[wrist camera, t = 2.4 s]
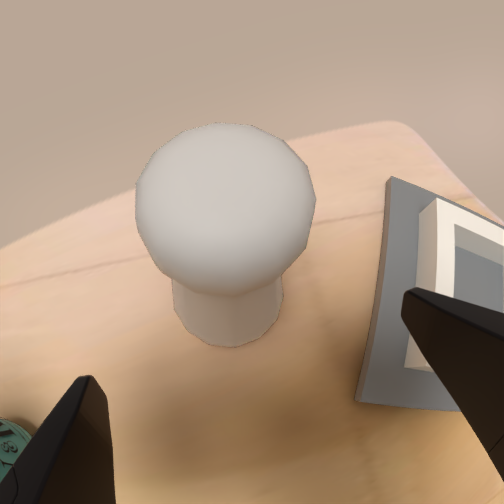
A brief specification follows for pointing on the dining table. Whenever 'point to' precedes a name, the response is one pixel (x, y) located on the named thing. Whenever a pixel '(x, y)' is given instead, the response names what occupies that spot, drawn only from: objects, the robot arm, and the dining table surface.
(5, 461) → the beverage bottle
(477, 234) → the dock
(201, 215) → the salt shaker
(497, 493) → the dining table surface
